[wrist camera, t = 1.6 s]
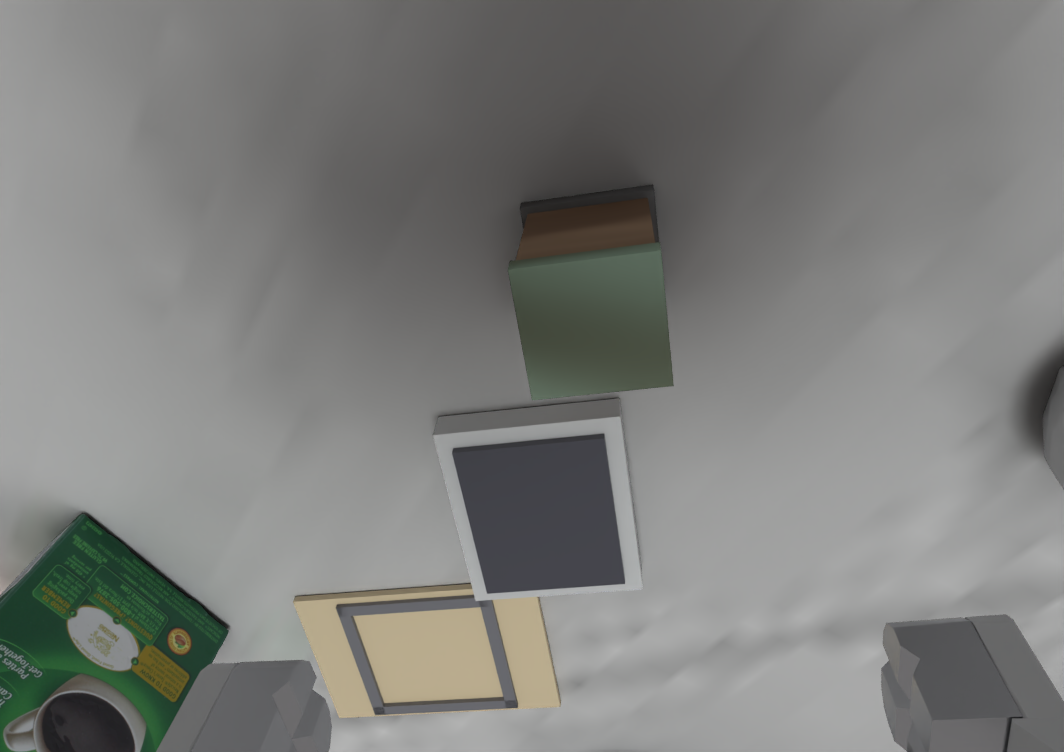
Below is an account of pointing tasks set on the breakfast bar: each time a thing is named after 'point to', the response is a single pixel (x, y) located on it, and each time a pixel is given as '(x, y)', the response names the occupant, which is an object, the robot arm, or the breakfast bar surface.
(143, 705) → the coffee box
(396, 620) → the card
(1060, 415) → the salt shaker
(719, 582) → the breakfast bar surface
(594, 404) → the ink pad
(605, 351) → the stamp
